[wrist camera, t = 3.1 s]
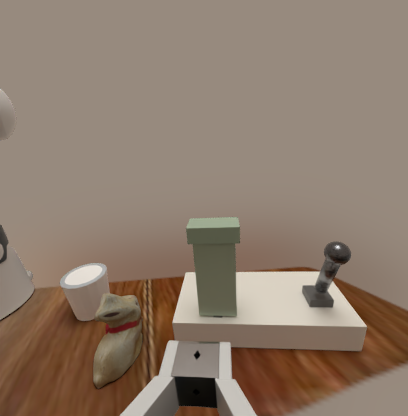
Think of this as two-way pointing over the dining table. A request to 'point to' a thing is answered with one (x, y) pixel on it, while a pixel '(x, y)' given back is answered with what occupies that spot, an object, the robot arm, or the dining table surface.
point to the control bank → (273, 315)
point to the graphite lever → (331, 265)
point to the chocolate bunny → (117, 337)
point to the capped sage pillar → (215, 263)
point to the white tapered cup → (85, 289)
